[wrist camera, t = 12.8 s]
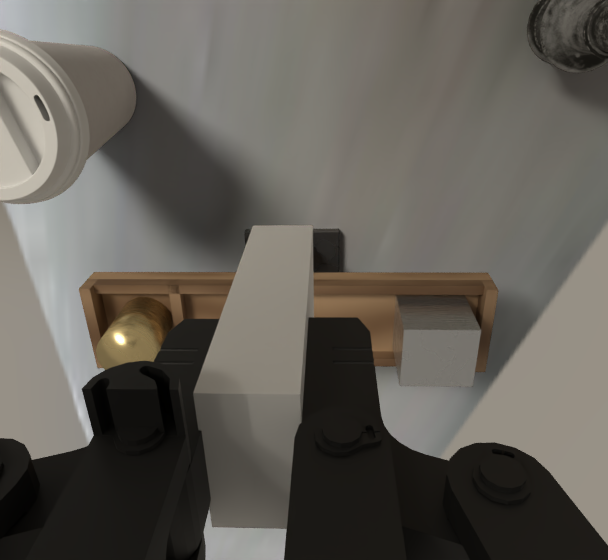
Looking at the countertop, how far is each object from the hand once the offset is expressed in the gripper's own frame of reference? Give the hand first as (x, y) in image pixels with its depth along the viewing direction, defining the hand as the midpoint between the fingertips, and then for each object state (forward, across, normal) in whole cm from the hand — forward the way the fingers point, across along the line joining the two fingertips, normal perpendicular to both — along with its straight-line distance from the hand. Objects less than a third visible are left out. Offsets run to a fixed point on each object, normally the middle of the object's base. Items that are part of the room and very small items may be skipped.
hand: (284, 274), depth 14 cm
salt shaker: (+31, +18, +5) cm, 36 cm away
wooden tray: (+24, -2, -15) cm, 28 cm away
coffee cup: (+31, -17, +1) cm, 35 cm away
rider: (+23, +9, -15) cm, 28 cm away
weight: (+23, -13, -15) cm, 30 cm away
